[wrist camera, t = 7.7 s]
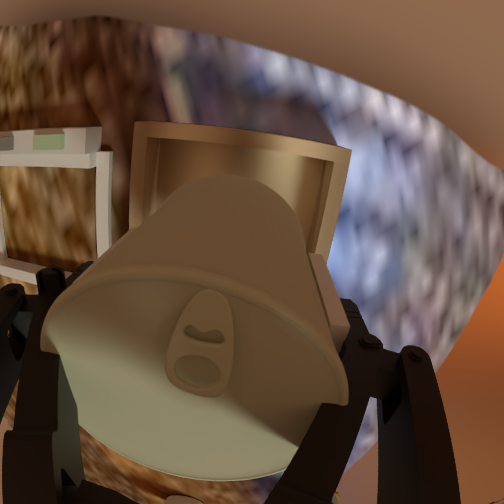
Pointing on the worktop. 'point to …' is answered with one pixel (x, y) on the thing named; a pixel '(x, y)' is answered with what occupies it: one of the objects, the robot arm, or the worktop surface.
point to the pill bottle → (181, 500)
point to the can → (201, 336)
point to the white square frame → (58, 155)
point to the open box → (240, 171)
